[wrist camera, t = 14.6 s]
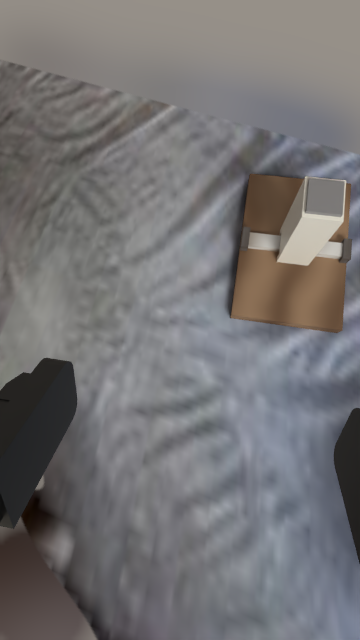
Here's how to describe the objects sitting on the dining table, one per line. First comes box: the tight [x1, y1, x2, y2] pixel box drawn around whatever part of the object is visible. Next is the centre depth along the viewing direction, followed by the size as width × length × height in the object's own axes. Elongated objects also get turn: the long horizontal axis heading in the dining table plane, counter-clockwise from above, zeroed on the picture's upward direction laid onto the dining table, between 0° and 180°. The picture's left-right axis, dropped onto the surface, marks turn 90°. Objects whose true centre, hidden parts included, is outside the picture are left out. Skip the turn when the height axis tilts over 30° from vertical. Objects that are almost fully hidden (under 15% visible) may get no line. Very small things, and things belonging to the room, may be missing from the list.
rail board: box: [230, 174, 352, 333], centre depth 40 cm, size 12×18×3 cm, turn 171°
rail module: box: [277, 176, 346, 266], centre depth 35 cm, size 4×4×10 cm
